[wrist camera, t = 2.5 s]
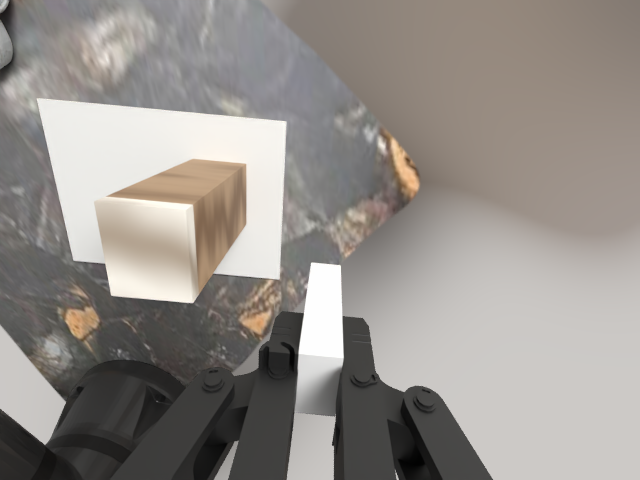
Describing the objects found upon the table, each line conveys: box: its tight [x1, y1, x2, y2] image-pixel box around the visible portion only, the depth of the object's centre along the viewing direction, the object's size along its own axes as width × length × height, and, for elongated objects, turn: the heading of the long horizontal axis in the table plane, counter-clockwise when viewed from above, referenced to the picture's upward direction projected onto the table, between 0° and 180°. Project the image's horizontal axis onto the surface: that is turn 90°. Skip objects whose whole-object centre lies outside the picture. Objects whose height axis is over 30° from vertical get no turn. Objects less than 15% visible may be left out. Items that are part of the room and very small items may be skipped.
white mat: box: [37, 98, 287, 279], centre depth 33 cm, size 16×22×1 cm
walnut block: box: [94, 159, 246, 303], centre depth 26 cm, size 6×5×14 cm
